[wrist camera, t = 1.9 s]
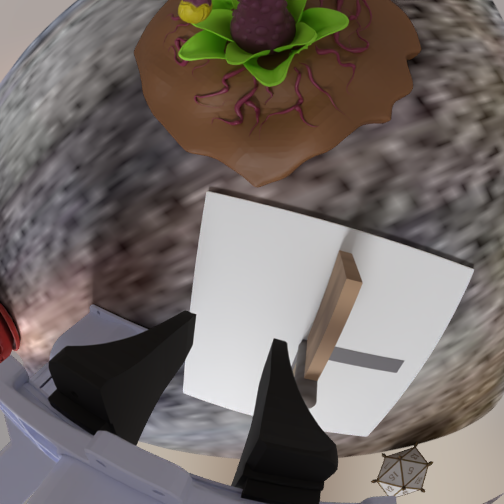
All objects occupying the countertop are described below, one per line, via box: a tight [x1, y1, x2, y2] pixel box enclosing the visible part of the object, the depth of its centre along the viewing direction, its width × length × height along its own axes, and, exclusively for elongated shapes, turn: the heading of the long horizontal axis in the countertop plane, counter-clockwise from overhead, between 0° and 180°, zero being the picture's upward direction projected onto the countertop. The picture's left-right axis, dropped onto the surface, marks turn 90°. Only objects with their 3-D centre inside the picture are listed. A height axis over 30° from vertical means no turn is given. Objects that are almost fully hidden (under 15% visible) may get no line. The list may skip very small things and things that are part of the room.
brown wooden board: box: [304, 250, 363, 381], centre depth 18 cm, size 8×1×5 cm, turn 168°
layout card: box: [183, 191, 474, 436], centre depth 23 cm, size 23×23×1 cm
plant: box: [134, 0, 421, 187], centre depth 11 cm, size 20×20×11 cm
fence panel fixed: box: [293, 340, 318, 409], centre depth 21 cm, size 10×2×6 cm, turn 168°
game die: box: [371, 442, 433, 497], centre depth 23 cm, size 9×8×10 cm
